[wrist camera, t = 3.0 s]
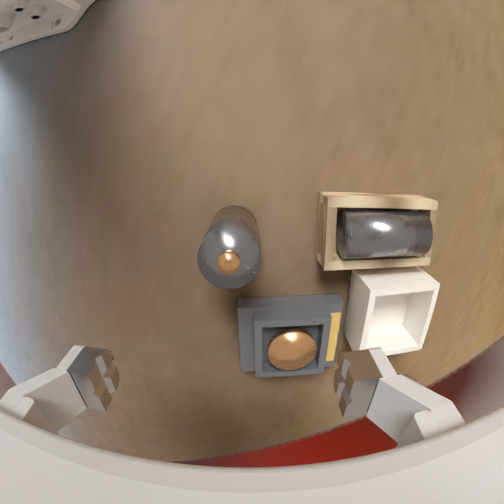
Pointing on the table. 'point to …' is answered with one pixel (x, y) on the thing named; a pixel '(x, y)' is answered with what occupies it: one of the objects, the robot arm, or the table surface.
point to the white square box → (389, 308)
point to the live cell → (383, 233)
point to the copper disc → (291, 349)
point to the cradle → (285, 317)
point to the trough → (366, 201)
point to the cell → (230, 249)
